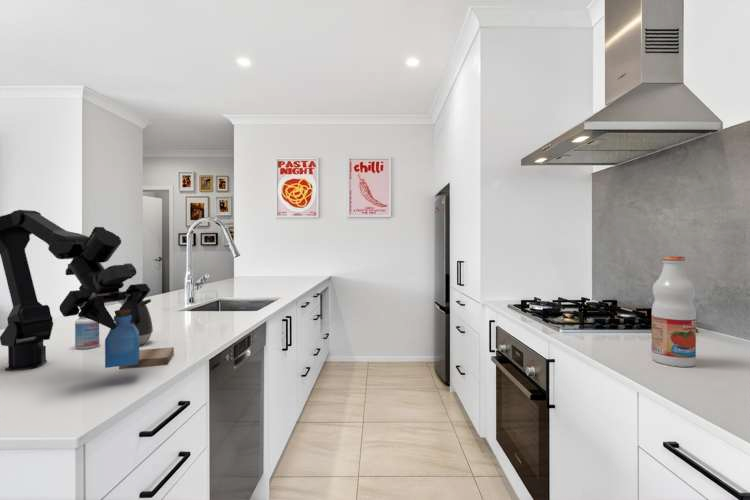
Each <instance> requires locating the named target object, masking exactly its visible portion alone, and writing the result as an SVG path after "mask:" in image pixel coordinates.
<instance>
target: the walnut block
mask: <svg viewBox="0 0 750 500" xmlns="http://www.w3.org/2000/svg"><path fill="white" fill-rule="evenodd" d="M174 355H175V347H173V346H172V347H171V346H170V347H158V348H147V349H146V348H144V349H139V360H138V364H134V365H126V366H118V369H119V370H125V369H136V368H146V367H148V368H149V367H157V366H159V367H160V366H167V365H169V363H170V361H171V360H172V358H173V356H174Z"/></svg>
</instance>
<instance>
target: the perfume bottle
mask: <svg viewBox="0 0 750 500" xmlns="http://www.w3.org/2000/svg"><path fill="white" fill-rule="evenodd" d="M130 311H131V310H119V309H117V310H114V314H115V315H114V316H113V320H114V322H115V324H116V326H117V327H116V328H115V329H110V328H109V332H108V333H107V336H106V338H105V339H104V363H105V364H104V369H106V368H107V369H108V368H115V367H119V366H126V365H134V364H138V360H139V350H140V345H139V331H138V329H137V328H136V326H135V324H134V323H130V320H131V315H130Z"/></svg>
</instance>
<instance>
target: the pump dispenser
mask: <svg viewBox="0 0 750 500" xmlns="http://www.w3.org/2000/svg"><path fill="white" fill-rule="evenodd" d="M151 302H152V299H150V298H148V299H144V300H143V301H142V302H141V303H140V304H138V311H139V316H140V323H139V324H135V323H134V322H133V321H131V320H130V323H134V324H135V326H136V328H137V329H138V331H139V346H142V345H144V344H145V343H147V342H149V340H150V338H151V336H152V333H154V332H153V331H154V330H153V329H154V328H153V321H152V317H151V313H150V311H149V308H148V307H147V305H148V304H149V303H151Z"/></svg>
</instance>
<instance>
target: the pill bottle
mask: <svg viewBox="0 0 750 500" xmlns="http://www.w3.org/2000/svg"><path fill="white" fill-rule="evenodd" d="M80 311H81V310H80ZM80 311H79V313H80ZM79 313H78V314H79ZM78 314H77V316H78ZM99 346H100V323H98V322H95V321H93V320H90V319H88V318H85V317H79V316H78V318H77V319H76V320H75V323H74V348H75V349H77V350H87V349H88V350H89V349H95V348H98V347H99Z"/></svg>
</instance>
